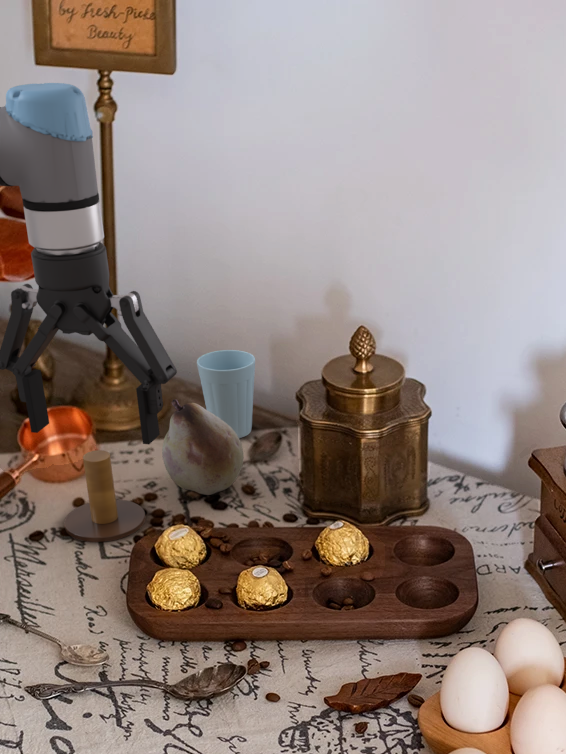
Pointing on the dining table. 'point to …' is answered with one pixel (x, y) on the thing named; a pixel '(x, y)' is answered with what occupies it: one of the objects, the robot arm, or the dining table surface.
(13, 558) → the dining table surface
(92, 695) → the dining table surface
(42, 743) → the dining table surface
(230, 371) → the cup
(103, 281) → the robot arm
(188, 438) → the fruit
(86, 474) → the lid
